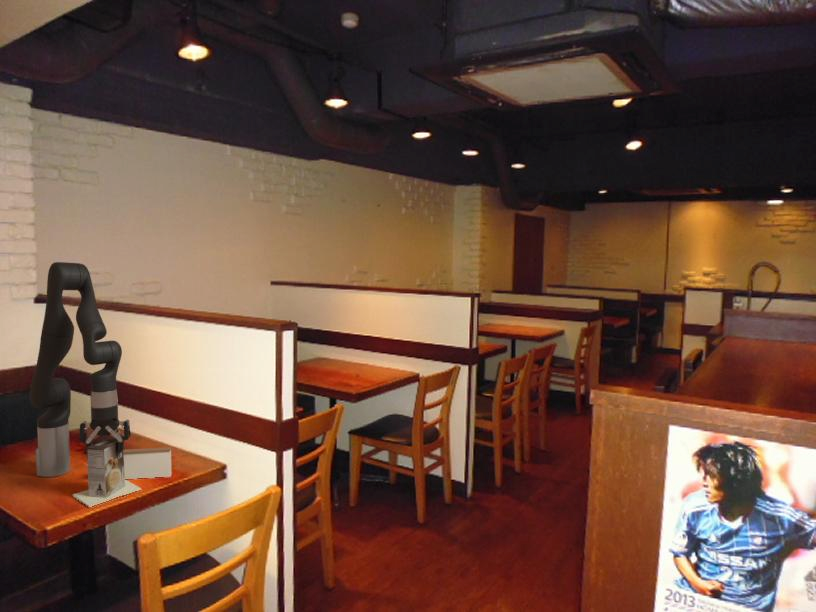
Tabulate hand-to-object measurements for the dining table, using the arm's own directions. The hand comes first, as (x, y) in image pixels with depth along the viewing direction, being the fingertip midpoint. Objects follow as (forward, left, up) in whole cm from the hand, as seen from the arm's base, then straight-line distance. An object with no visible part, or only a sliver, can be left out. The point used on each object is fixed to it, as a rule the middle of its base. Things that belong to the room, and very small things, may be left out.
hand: (105, 453), depth 176 cm
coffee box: (0, 0, -13) cm, 13 cm away
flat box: (+6, +11, -14) cm, 19 cm away
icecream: (-12, +42, -14) cm, 46 cm away
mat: (0, 0, -14) cm, 14 cm away
